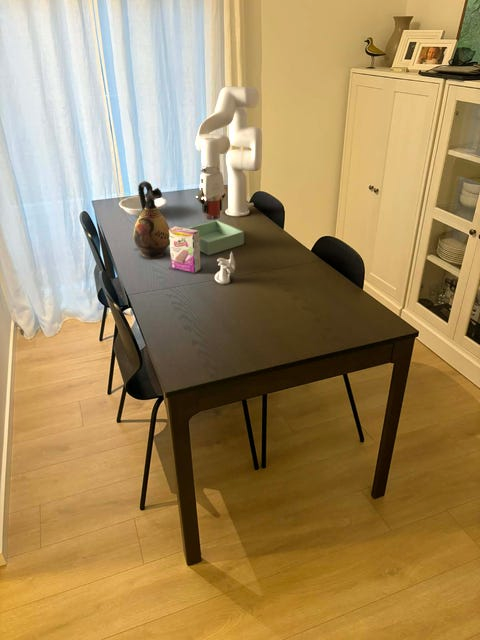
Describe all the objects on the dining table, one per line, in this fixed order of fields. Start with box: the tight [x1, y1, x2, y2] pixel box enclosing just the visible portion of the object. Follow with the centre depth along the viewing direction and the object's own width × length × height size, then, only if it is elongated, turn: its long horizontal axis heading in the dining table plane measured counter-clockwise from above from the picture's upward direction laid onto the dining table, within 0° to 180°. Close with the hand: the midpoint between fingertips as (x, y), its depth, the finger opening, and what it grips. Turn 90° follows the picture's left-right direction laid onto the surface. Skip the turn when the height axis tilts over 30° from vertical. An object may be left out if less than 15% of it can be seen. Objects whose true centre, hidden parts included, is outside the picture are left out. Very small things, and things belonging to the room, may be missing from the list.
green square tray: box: [187, 219, 245, 256], centre depth 218 cm, size 20×20×6 cm
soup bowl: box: [118, 195, 168, 218], centre depth 250 cm, size 24×24×7 cm
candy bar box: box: [169, 225, 202, 274], centre depth 192 cm, size 11×5×16 cm, turn 65°
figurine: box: [214, 251, 236, 285], centre depth 182 cm, size 11×8×12 cm
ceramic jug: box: [132, 180, 170, 259], centre depth 201 cm, size 17×15×30 cm
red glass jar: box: [204, 195, 221, 221], centre depth 211 cm, size 7×7×10 cm
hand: (212, 211), depth 212 cm, fingers closed on red glass jar, 6 cm apart
